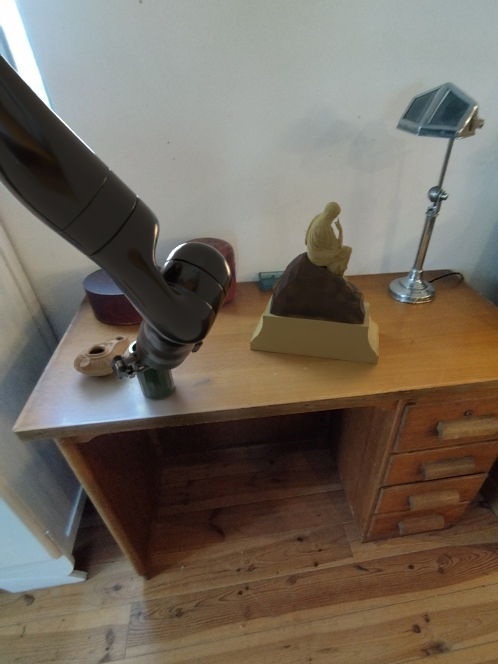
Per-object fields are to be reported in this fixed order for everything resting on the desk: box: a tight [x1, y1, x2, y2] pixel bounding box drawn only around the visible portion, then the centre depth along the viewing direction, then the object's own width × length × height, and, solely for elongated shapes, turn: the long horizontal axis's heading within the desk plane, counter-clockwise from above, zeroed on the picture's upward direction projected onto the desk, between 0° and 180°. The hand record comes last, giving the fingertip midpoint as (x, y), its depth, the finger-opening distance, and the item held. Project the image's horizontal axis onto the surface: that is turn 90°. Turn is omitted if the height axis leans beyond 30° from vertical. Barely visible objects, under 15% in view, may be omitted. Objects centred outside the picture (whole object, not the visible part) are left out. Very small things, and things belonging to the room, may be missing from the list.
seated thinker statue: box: [249, 201, 380, 365], centre depth 78 cm, size 28×13×30 cm, turn 81°
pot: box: [128, 340, 176, 401], centre depth 70 cm, size 6×6×10 cm
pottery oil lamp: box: [73, 335, 131, 377], centre depth 77 cm, size 9×12×7 cm
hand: (153, 364), depth 69 cm, fingers open, 8 cm apart
